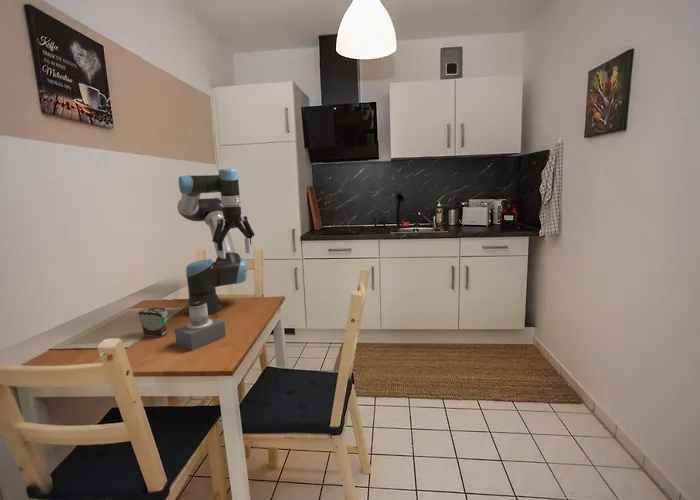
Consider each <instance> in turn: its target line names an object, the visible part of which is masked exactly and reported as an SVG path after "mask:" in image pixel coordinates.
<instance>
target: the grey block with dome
mask: <svg viewBox="0 0 700 500" xmlns="http://www.w3.org/2000/svg"><path fill="white" fill-rule="evenodd" d="M226 334H227V333H226V325H225V321H223V320H220V319H217V318H212V317H209V316H208V322H207V323H206V324H203V325H199V326H194V325H192V324H191V321H189V322H188V323H186V324H185V325H181V326H179V327H176V328H174V335H175V336H174V337H175V342H176V343H175V344H176V345H177V346H180V347H182V348H185V349H188V350H190V351H195V350H197V349H199V348H202V347H204V346H207V345H209V344H211V343H214V342H217V341H219V340H221V339H224V338H226V336H227V335H226Z"/></svg>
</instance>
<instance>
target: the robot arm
mask: <svg viewBox="0 0 700 500" xmlns="http://www.w3.org/2000/svg"><path fill="white" fill-rule="evenodd" d="M238 174H239V173H238V170H237V169H236V168H221V169H218V174H211V175H210V174H206V175H201V174H200V175H199V174H198V175H189V174H188V175H181V176H179V177H178V189H179V192H180V193H181V197H180V199H179V200H178V202H177V211H178V213H179V215H180V216H181V217H183V218H184V219H186V220H189V221H191V222H204V223H205V225H206V226H209V230H210V233H211V237H212V240H211V241H212V243H213V245H214V250H215V252H216V258H215V261H213V259H212V258H207V259H200V260H196V261H193V262H191V263H189V264H188V265H187V266H185V267H186V268H185V271H186V272H185V273H186V274H185V276H186V280H187V281H186V282H187V290H188V300H187V304H186V314H187V315H188V316H190V315H189V307H188V306H189V305H190V304H191V303H193V302H197V301H203V302H206V303H207V310H208V316H209V315H212V314H215V313H218V312H220V311H221V310H222V303H221V301H220V298H219V296H218V295H217V294H218V293H217V290H216V289H217V287H223V286H231V285H238V284H241V283H244V282H245V281H246V279H247V273H248V272H247V271H248V269H247V260H246V258H243V257H241V256H240V254H239V253H238V252H236V250H235V247H234V243H233V240H232V237H231V233H230V230H231V229H238V230H239V231H240V232H241V233H242V235H243V236H244V237H245V238H244V248H245V250H244V251H245V254H247V253H248V254H251V253H252V248H251V246H252V239H253V237H254V236H255V233H254V231H253V229H252V227H251V225H250V223H249V221H248V217H247V216H246V215H242V207H241V206H240V205H241V196H240V186H239V184H240V182H239V176H238ZM209 193H210V194H211V193H213V194H214V193H220V197H214V198H211V197H210V198H208V197H207V198H201V194H209ZM241 215H242V216H241Z"/></svg>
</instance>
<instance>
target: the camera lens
mask: <svg viewBox="0 0 700 500" xmlns="http://www.w3.org/2000/svg"><path fill="white" fill-rule="evenodd" d="M188 307H189V315H188V316H189V320H190V321H189V322H191V324H192V325H194V326H199V325H203V324H206V323H207V322H208V317H209V315H208V310H207V303H206V302H203V301H197V302H193V303H191V304H190V305H189V306H188Z"/></svg>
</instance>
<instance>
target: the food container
mask: <svg viewBox="0 0 700 500" xmlns="http://www.w3.org/2000/svg"><path fill="white" fill-rule="evenodd" d="M168 315H169V313H168V311H167V309H166V308H165V307H162V306H151V307H147V308H142V309H139V310H138V312H137V316H139V320H140V323H141V329H142V332H143V336H148V337H155V338H164V337H165V336H167V332H168V330H167V327H168V325H167V316H168Z"/></svg>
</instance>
